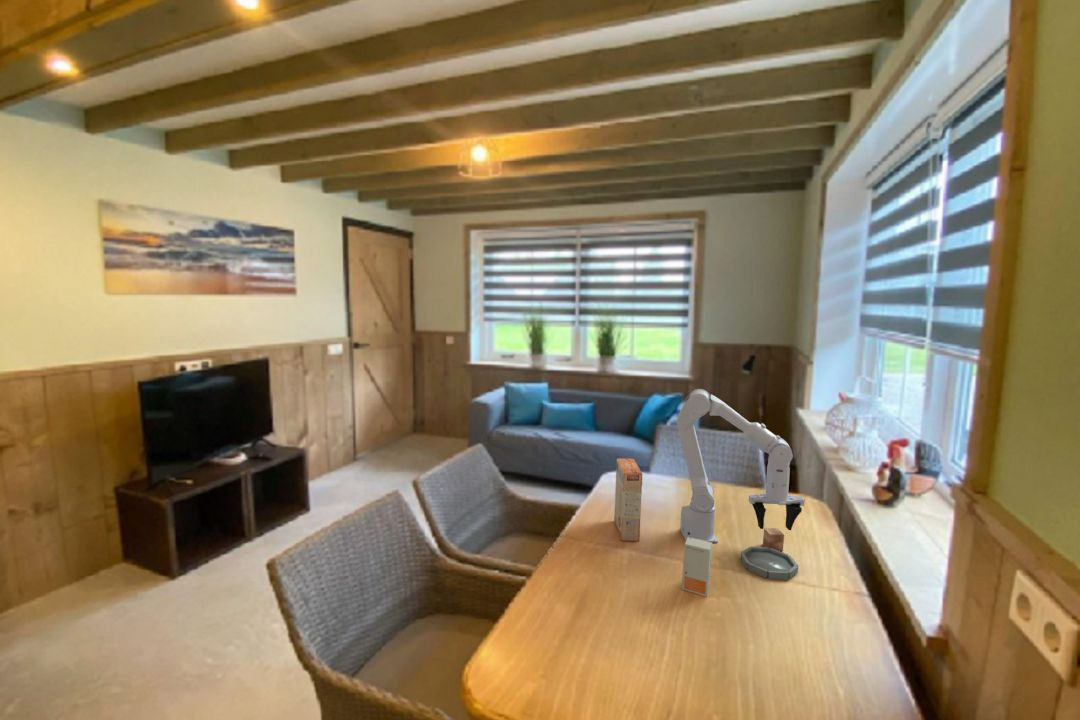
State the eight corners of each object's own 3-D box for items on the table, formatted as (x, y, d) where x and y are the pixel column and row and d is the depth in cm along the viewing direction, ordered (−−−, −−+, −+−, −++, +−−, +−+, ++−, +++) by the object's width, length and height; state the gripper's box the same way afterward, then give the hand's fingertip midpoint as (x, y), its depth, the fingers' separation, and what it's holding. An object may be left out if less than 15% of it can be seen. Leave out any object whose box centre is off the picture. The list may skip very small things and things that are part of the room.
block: (768, 551, 135) (769, 534, 134) (762, 544, 139) (764, 527, 138) (782, 551, 135) (784, 535, 134) (777, 544, 138) (778, 528, 138)
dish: (751, 577, 121) (752, 571, 121) (735, 551, 134) (735, 545, 134) (804, 580, 120) (805, 574, 120) (783, 554, 133) (783, 548, 133)
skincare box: (681, 590, 116) (683, 543, 114) (684, 581, 119) (687, 536, 118) (707, 597, 113) (710, 549, 112) (710, 588, 117) (712, 542, 115)
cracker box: (640, 542, 139) (643, 473, 137) (620, 541, 139) (622, 472, 137) (632, 520, 153) (634, 457, 151) (613, 520, 153) (615, 457, 151)
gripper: (756, 486, 131) (753, 533, 133) (810, 488, 130) (807, 535, 131) (747, 477, 138) (744, 522, 140) (799, 479, 137) (796, 524, 138)
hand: (774, 528), depth 136 cm, fingers open, 7 cm apart
